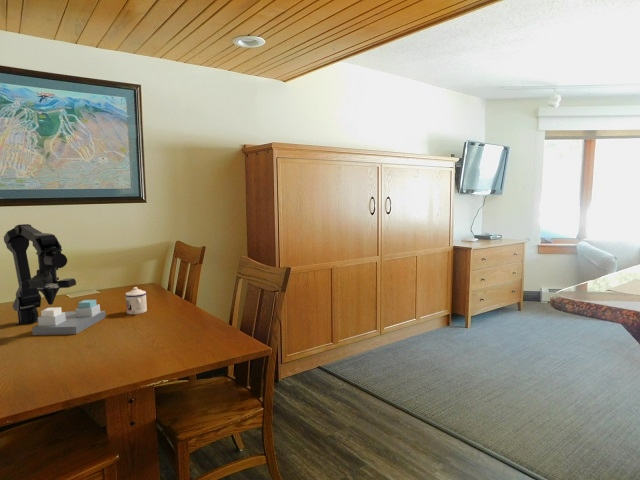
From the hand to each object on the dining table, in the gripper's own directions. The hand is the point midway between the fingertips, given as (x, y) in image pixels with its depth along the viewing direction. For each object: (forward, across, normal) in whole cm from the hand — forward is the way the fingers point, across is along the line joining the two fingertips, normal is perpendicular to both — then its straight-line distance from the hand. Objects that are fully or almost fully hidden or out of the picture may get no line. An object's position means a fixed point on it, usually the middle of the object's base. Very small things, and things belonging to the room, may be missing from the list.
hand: (50, 304), depth 168 cm
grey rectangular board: (+11, +4, +6) cm, 13 cm away
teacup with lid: (+11, +24, +24) cm, 36 cm away
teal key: (+5, +8, +12) cm, 15 cm away
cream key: (+5, 0, 0) cm, 5 cm away
